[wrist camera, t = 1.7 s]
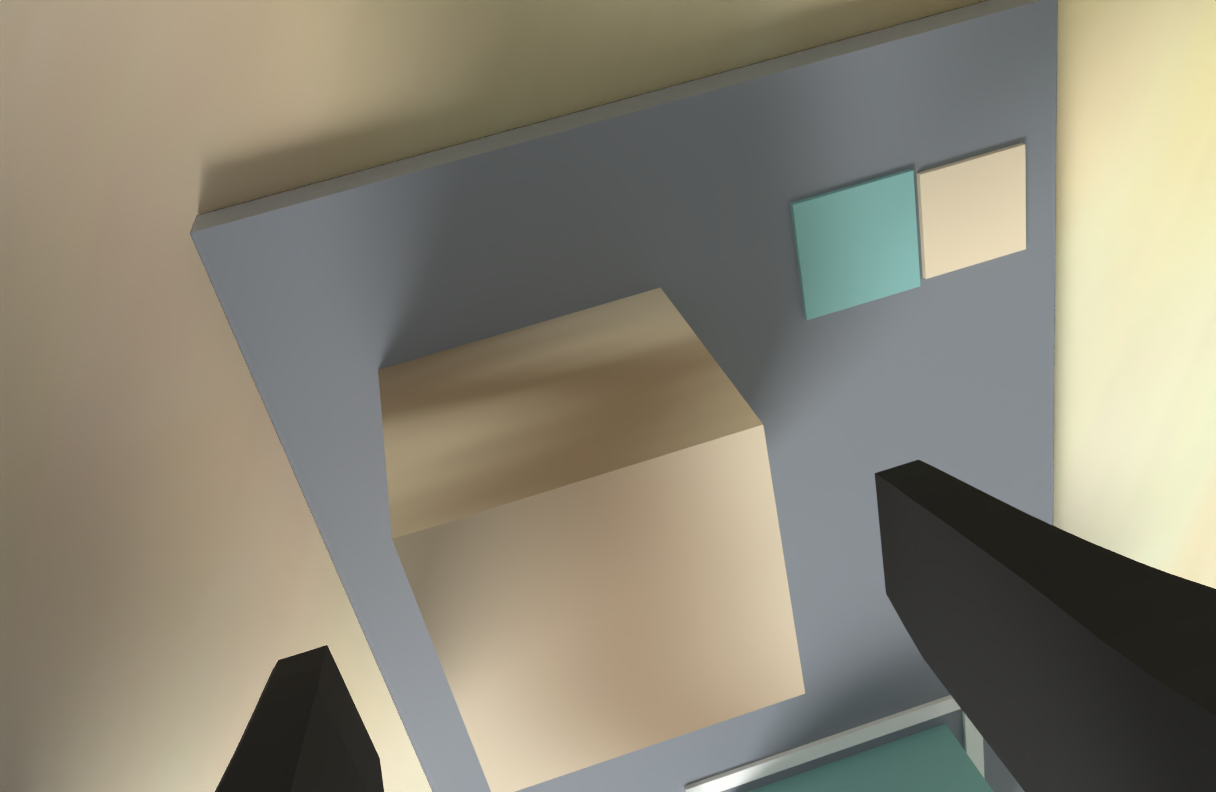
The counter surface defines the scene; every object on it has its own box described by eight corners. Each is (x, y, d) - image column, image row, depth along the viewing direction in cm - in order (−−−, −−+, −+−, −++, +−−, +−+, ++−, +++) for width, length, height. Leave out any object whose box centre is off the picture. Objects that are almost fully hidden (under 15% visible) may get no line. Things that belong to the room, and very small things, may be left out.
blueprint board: (551, 1045, 26) (592, 1273, 22) (196, 215, 15) (142, 355, 11) (1031, 870, 27) (1157, 1053, 23) (1026, -11, 16) (1264, 36, 12)
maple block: (459, 594, 18) (493, 799, 14) (378, 370, 16) (392, 538, 12) (705, 516, 18) (805, 693, 15) (660, 287, 16) (763, 423, 12)
